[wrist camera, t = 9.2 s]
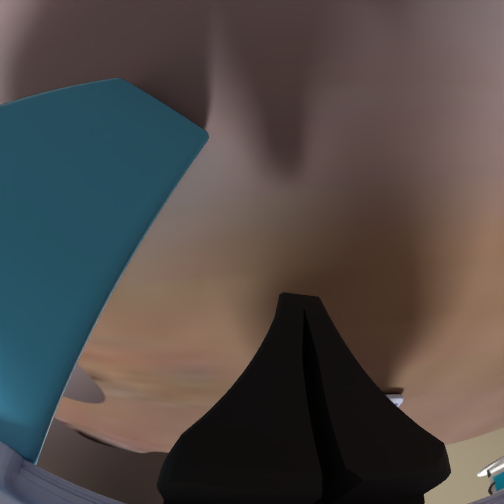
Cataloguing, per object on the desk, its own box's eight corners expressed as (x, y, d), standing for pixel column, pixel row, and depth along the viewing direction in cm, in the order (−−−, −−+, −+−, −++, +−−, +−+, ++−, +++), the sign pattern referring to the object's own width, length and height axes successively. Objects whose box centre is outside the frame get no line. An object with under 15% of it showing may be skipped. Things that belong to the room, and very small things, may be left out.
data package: (109, 298, 18) (31, 479, 8) (50, 259, 16) (-55, 421, 6) (216, 127, 12) (54, 406, 2) (131, 73, 11) (-159, 181, 1)
